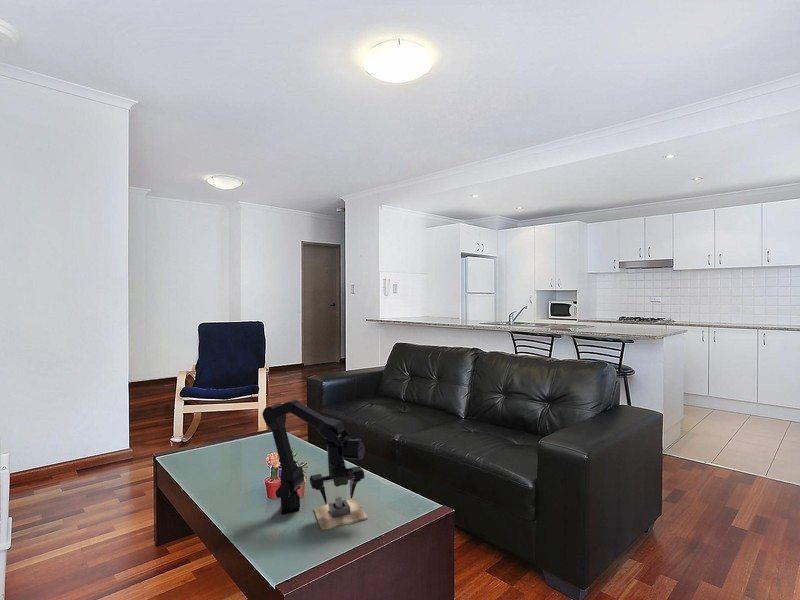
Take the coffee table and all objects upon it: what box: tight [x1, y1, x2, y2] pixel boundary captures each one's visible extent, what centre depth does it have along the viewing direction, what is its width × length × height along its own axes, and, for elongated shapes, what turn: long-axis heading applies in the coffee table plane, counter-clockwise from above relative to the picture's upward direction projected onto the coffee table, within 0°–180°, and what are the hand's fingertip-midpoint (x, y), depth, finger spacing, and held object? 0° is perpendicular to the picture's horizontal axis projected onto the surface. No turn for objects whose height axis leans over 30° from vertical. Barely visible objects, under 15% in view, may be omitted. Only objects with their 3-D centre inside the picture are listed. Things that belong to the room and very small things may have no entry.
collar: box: [327, 499, 350, 518], centre depth 160 cm, size 6×6×2 cm
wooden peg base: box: [312, 495, 368, 531], centre depth 160 cm, size 16×16×6 cm
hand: (338, 500), depth 160 cm, fingers open, 9 cm apart
